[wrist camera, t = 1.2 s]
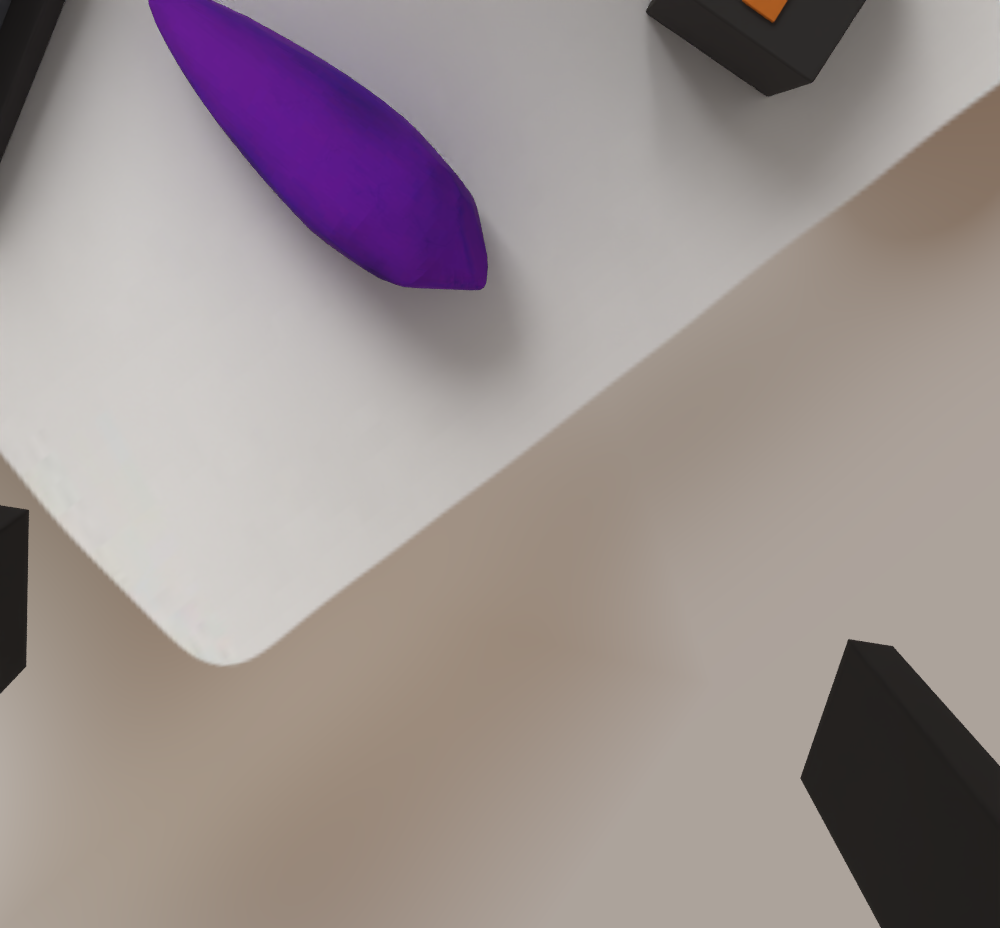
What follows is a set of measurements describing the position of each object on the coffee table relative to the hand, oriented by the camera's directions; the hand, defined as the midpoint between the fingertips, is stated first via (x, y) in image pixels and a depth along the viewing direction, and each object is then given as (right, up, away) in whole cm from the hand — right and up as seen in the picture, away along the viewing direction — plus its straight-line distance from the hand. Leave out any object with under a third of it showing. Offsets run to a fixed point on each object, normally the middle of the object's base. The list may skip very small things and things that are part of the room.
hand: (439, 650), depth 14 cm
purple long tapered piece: (-5, +15, +18) cm, 24 cm away
